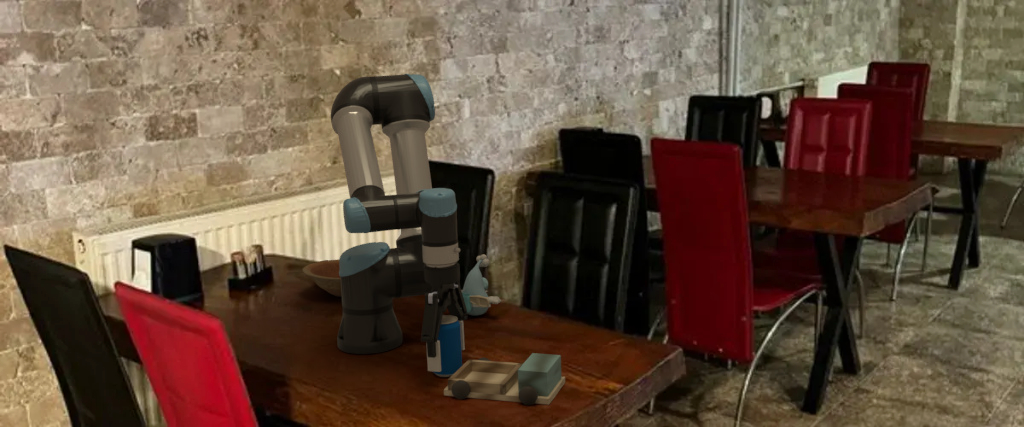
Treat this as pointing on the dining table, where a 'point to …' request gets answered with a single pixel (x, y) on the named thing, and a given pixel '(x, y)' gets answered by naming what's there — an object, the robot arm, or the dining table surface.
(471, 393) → the toy truck
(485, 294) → the toy figure
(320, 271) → the bowl
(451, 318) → the beverage can
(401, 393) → the dining table surface
